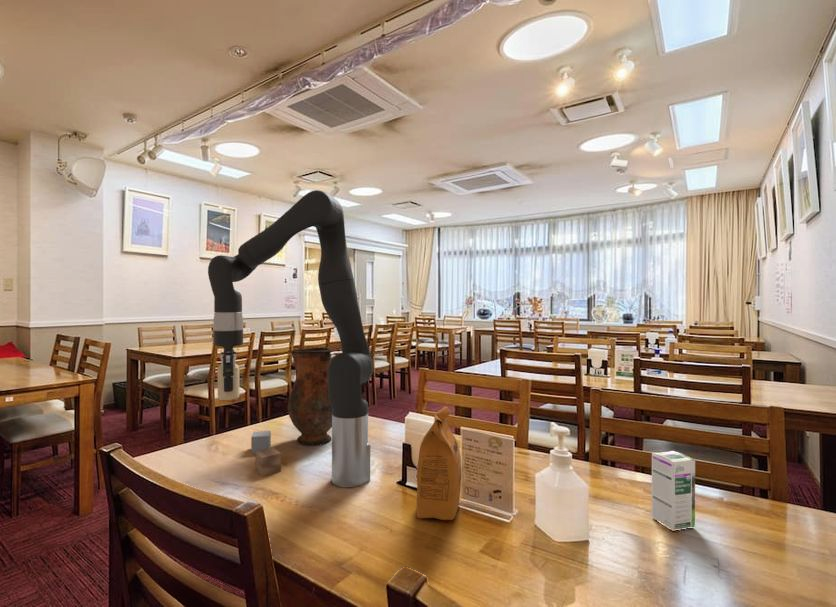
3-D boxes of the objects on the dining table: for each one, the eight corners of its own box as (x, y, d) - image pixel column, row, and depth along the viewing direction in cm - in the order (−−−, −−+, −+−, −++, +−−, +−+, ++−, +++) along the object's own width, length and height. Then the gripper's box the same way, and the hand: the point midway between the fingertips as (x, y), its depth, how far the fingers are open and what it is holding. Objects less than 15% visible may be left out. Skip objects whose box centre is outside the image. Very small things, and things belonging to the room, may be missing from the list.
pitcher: (303, 430, 148) (303, 345, 147) (360, 435, 143) (360, 347, 142) (276, 446, 132) (276, 351, 131) (339, 453, 127) (340, 354, 126)
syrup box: (673, 533, 86) (674, 462, 85) (650, 518, 91) (651, 451, 91) (695, 529, 87) (696, 459, 87) (671, 514, 93) (672, 449, 92)
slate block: (270, 446, 132) (270, 430, 132) (268, 452, 127) (268, 435, 127) (253, 447, 131) (253, 431, 131) (251, 453, 126) (251, 436, 126)
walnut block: (274, 465, 118) (274, 447, 117) (280, 471, 114) (280, 453, 114) (255, 470, 114) (256, 451, 114) (262, 476, 111) (262, 457, 110)
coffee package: (466, 499, 99) (467, 406, 98) (455, 527, 87) (456, 421, 86) (426, 493, 102) (426, 402, 101) (409, 519, 90) (410, 417, 89)
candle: (243, 395, 119) (243, 360, 119) (232, 400, 114) (232, 363, 114) (224, 395, 120) (224, 360, 120) (213, 400, 115) (213, 363, 114)
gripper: (243, 330, 112) (243, 393, 112) (242, 326, 125) (243, 383, 125) (211, 330, 109) (212, 396, 109) (214, 326, 122) (215, 385, 122)
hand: (228, 388), depth 117 cm, fingers closed on candle, 5 cm apart
